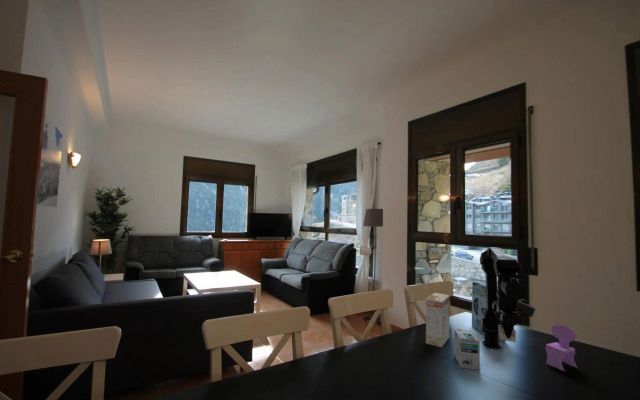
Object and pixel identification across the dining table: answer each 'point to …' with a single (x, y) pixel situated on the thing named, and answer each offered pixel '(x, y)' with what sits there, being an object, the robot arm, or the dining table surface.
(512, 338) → the birch block
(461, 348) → the light bulb box
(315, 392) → the dining table surface
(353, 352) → the dining table surface
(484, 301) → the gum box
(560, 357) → the toy chair
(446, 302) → the coffeecake box
